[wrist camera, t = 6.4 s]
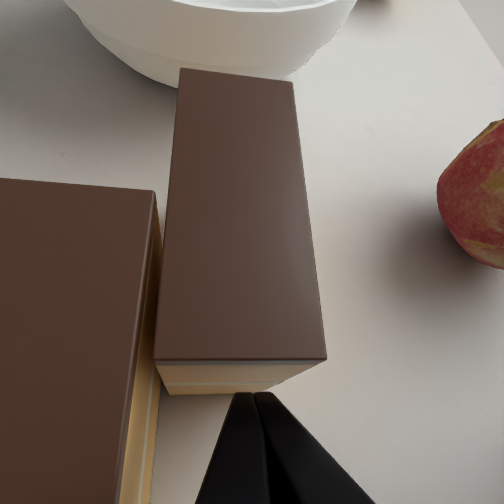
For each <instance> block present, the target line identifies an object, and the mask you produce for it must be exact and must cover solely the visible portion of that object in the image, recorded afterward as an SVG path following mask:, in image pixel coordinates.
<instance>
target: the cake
mask: <svg viewBox="0 0 504 504" xmlns="http://www.w3.org/2000/svg"><path fill="white" fill-rule="evenodd" d="M162 251H163V249H162V242H161V234H160V226H159V218H158V211H157V202H156V194H155V192H154V191H152V190H140V189H128V188H116V187H104V186H92V185H80V184H68V183H56V182H45V181H33V180H21V179H9V178H0V504H150V495H151V484H152V473H153V463H154V452H155V441H156V430H157V420H158V409H159V398H160V388H161V376H160V374H159V372H158V370H157V368H156V366H155V363H154V361H153V359H152V356H153V346H154V335H155V325H156V314H157V304H158V293H159V283H160V272H161V262H162Z"/></svg>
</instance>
